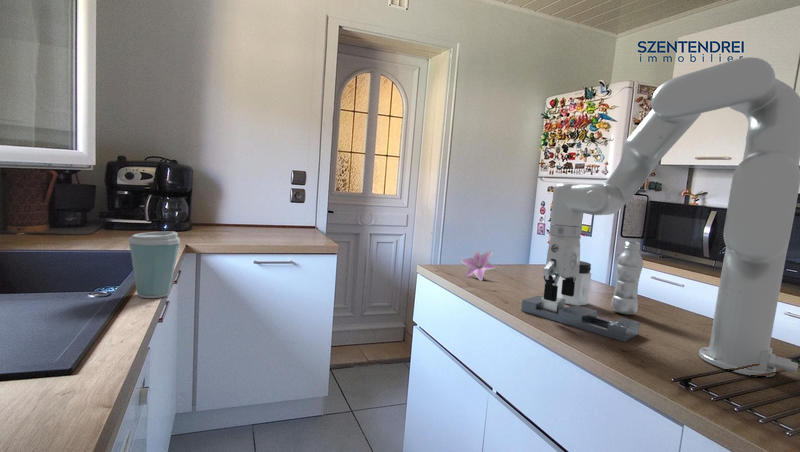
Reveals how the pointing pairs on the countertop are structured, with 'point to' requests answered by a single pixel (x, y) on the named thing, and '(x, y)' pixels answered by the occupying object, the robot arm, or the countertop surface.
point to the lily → (478, 264)
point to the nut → (552, 305)
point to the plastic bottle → (627, 279)
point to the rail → (584, 320)
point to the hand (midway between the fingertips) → (558, 297)
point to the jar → (578, 286)
